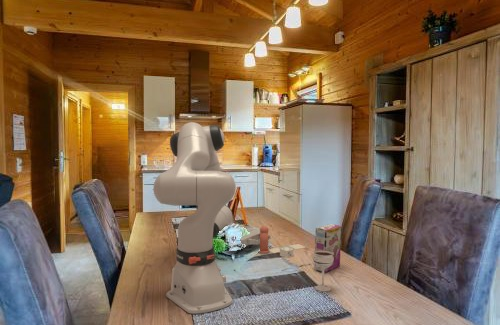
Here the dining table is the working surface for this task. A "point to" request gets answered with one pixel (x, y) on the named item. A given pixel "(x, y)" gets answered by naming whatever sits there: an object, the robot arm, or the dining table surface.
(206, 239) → the robot arm
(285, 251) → the die
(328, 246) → the candy bar box
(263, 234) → the pawn
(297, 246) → the track board
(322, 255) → the wineglass
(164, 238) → the dining table surface
